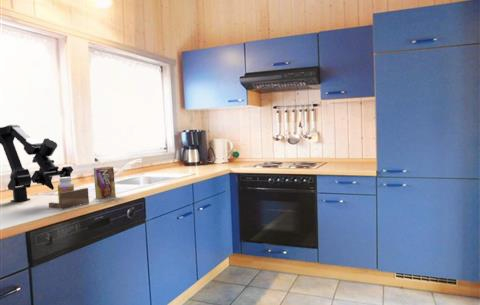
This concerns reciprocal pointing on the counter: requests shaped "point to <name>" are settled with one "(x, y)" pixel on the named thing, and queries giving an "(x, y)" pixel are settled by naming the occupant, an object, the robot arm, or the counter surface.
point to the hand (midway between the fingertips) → (62, 187)
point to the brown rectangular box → (71, 199)
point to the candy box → (104, 182)
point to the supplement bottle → (65, 185)
